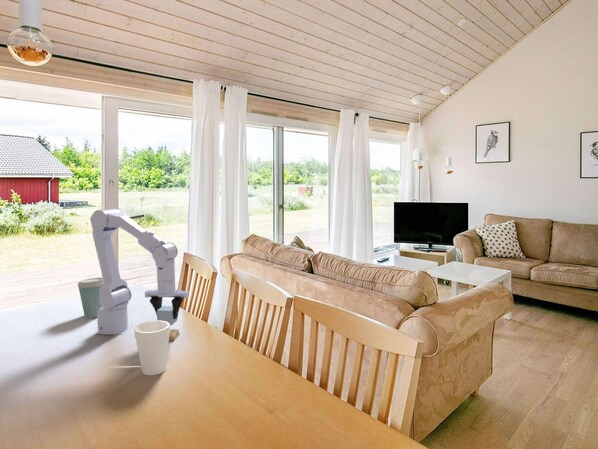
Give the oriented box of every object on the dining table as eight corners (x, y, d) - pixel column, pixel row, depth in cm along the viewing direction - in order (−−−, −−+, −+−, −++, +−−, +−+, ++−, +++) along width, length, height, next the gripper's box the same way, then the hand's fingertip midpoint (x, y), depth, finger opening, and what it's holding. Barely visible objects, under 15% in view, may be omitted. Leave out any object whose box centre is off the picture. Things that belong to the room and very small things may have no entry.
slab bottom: (156, 343, 131) (156, 339, 130) (163, 336, 137) (163, 332, 136) (173, 343, 130) (173, 340, 130) (180, 336, 136) (180, 333, 136)
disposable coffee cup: (72, 318, 152) (70, 281, 150) (94, 309, 162) (92, 274, 161) (94, 321, 149) (92, 283, 147) (115, 312, 159) (113, 276, 158)
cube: (157, 324, 130) (156, 310, 130) (163, 319, 135) (163, 305, 135) (171, 325, 130) (171, 311, 129) (177, 320, 135) (177, 306, 134)
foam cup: (178, 366, 113) (176, 323, 112) (154, 381, 105) (152, 335, 103) (154, 359, 117) (152, 318, 116) (129, 373, 109) (127, 329, 107)
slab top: (156, 340, 130) (156, 336, 130) (161, 333, 136) (161, 329, 136) (174, 339, 130) (174, 336, 130) (178, 332, 136) (178, 329, 136)
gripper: (139, 281, 127) (141, 321, 129) (182, 282, 126) (184, 322, 128) (149, 276, 134) (151, 314, 136) (190, 277, 133) (191, 315, 135)
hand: (167, 317), depth 132 cm, fingers closed on cube, 5 cm apart
